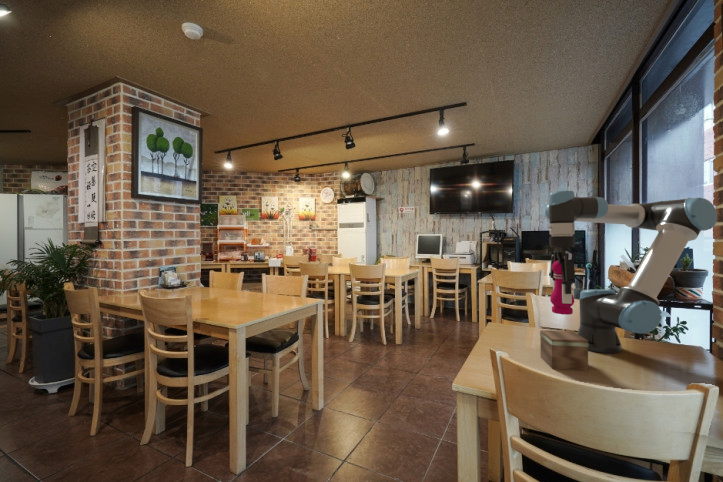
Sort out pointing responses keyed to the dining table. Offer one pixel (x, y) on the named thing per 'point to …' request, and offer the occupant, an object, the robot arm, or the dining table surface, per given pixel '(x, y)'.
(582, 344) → the walnut box
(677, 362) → the dining table surface
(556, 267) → the pepper mill
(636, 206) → the robot arm
